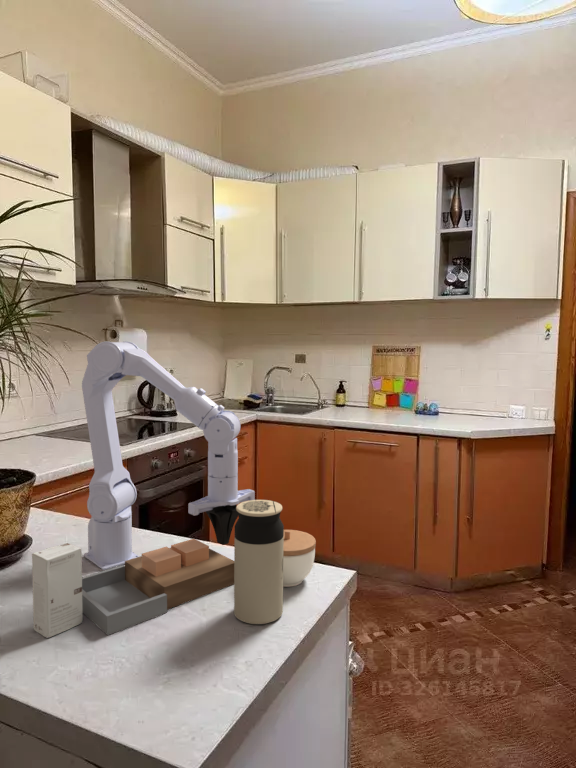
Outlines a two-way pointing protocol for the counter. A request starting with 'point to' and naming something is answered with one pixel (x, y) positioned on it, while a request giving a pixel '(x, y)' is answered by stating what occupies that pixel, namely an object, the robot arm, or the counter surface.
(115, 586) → the tray
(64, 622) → the skincare box
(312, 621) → the counter surface
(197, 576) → the dark wood platform
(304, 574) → the lidded jar
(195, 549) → the tile rear
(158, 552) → the tile front
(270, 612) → the travel mug
